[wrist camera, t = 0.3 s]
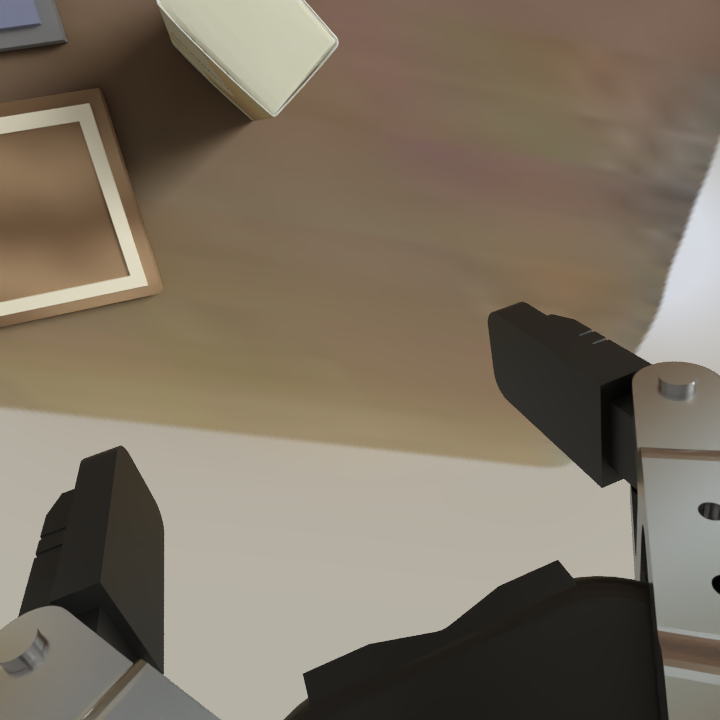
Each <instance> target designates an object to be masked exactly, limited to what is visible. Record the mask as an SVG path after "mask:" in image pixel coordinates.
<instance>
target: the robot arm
mask: <svg viewBox="0 0 720 720" xmlns="http://www.w3.org/2000/svg"><path fill="white" fill-rule="evenodd" d="M488 329H489V336H490V344H491V352H492V360H493V368H494V375H495V379H496V382H497V385H498V387H499V389H500V391H501V393H502V394H503V396H504V397H505V398H506V399H507V400H508V401H509V402H510V403H511V404H512V405H513V406H514V407H515V408H516V409H517V410H518V411H520V412H521V413H522V414H523V415H524V416H525V417H526V418H527V419H528V420H529V421H530V422H531V423H532V424H534V425H535V426H536V427H537V428H538V429H539V430H540V431H541V432H542V433H543V434H544V435H545V436H546V437H548V438H549V439H550V440H551V441H552V442H553V443H554V444H555V445H556V446H557V447H558V448H559V449H560V450H562V451H563V452H564V453H565V454H566V455H567V456H568V457H569V458H570V459H571V460H572V461H573V462H575V463H576V464H577V465H578V466H579V467H580V468H581V469H582V470H583V471H584V472H585V473H586V474H587V475H589V476H590V477H591V478H592V479H593V480H594V481H595V482H596V483H597V484H598V485H599V486H600V487H601V488H603V487H605V486H608V485H610V484H612V483H614V482H617V481H619V480H622V479H625V480H626V481H627V482H628V483H630V505H631V521H632V537H633V553H634V570H635V580H632V579H625V578H618V577H603V576H592V577H579V578H572V577H571V576H570V574H569V573H568V572H567V570H565V568H564V567H563V566H562V564H561V563H560V562H559V561H558V560H557V561H554V562H552V563H550V564H548V565H545V566H543V567H541V568H539V569H536V570H535V571H532V572H530V573H527V574H525V575H523V576H521V577H519V578H516V579H514V580H512V581H510V582H507V583H505V584H503V585H501V586H499V587H497V588H496V589H495V590H494V591H492V592H491V593H490V594H489V595H487V596H486V597H485V598H484V599H482V600H481V601H480V602H478V603H477V604H476V605H475V606H473V607H472V608H471V609H470V610H468V611H467V612H466V613H465V614H463V615H462V616H461V617H460V618H458V619H457V620H456V621H455V622H453V623H452V624H451V625H450V626H448V627H447V628H445V629H443V630H441V631H438V632H433V633H428V634H422V635H416V636H411V637H406V638H400V639H395V640H389V641H384V642H378V643H373V644H368V645H366V646H364V647H362V648H360V649H357V650H355V651H353V652H351V653H348V654H346V655H344V656H342V657H339V658H337V659H335V660H333V661H331V662H328V663H326V664H324V665H321V666H319V667H317V668H315V669H313V670H310V671H308V672H306V673H304V674H303V676H304V681H305V685H306V689H307V694H308V698H307V699H306V700H305V701H303V702H302V703H301V704H300V705H299V706H297V707H296V708H295V709H294V710H293V711H292V712H291V713H290V714H289V715H288V716H287V717H286V718H285V719H284V720H720V376H719V375H718V374H717V373H715V372H714V371H712V370H710V369H708V368H706V367H703V366H700V365H697V364H692V363H685V362H663V363H656V364H650V363H649V362H647V361H645V360H643V359H642V358H640V357H638V356H637V355H635V354H633V353H631V352H630V351H628V350H626V349H624V348H623V347H621V346H619V345H618V344H616V343H614V342H612V341H611V340H606V338H605V337H604V336H602V335H600V334H599V333H597V332H592V329H590V328H588V327H586V326H585V325H583V324H581V323H580V322H578V321H576V320H574V319H570V318H565V317H561V316H557V315H553V314H551V315H548V316H547V315H545V314H543V313H542V312H540V311H538V310H537V309H535V308H534V307H532V306H530V305H529V304H527V303H525V302H519V303H517V304H514V305H511V306H508V307H506V308H503V309H500V310H497V311H495V312H492V313H490V315H489V317H488ZM40 537H41V540H40V541H39V544H38V547H37V551H36V556H37V558H35V559H34V562H33V565H32V569H31V572H30V576H29V580H28V584H27V587H26V591H25V595H24V598H23V601H22V605H21V609H20V613H19V616H18V618H17V619H15V620H13V621H12V622H10V623H9V624H8V625H6V626H5V627H4V628H3V629H1V630H0V720H220V719H219V718H218V717H216V716H215V715H214V714H213V713H211V712H210V711H209V710H208V709H206V708H205V707H203V706H202V705H201V704H200V703H198V702H197V701H195V699H193V698H192V697H191V696H189V695H188V694H187V693H185V692H184V691H183V690H182V689H180V688H179V687H178V686H177V685H175V684H174V683H173V682H171V681H170V680H169V679H168V678H166V677H165V676H164V675H163V674H164V526H163V521H162V517H161V514H160V511H159V508H158V506H157V504H156V501H155V500H154V498H153V496H152V494H151V492H150V491H149V489H148V487H147V485H146V483H145V482H144V480H143V478H142V476H141V474H140V473H139V471H138V469H137V467H136V465H135V464H134V462H133V460H132V458H131V456H130V455H129V453H128V452H127V450H126V449H125V448H124V447H123V446H118V447H115V448H113V449H110V450H107V451H105V452H101V453H99V454H96V455H93V456H90V457H88V458H85V459H83V460H82V461H81V463H80V467H79V472H78V476H77V481H76V485H75V489H73V490H70V491H68V492H65V493H62V494H61V496H60V497H59V499H58V500H57V501H56V503H55V504H54V505H53V507H52V508H51V510H50V511H49V512H48V514H47V515H46V518H45V522H44V525H43V529H42V532H41V536H40Z"/></svg>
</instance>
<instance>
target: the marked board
mask: <svg viewBox="0 0 720 720" xmlns="http://www.w3.org/2000/svg"><path fill="white" fill-rule="evenodd" d="M163 290H164V288H163V285H162V282H161V279H160V275H159V272H158V269H157V266H156V262H155V259H154V256H153V253H152V250H151V246H150V243H149V240H148V237H147V233H146V230H145V227H144V224H143V221H142V217H141V214H140V211H139V208H138V204H137V201H136V198H135V195H134V191H133V188H132V185H131V182H130V179H129V175H128V172H127V169H126V166H125V162H124V159H123V156H122V153H121V149H120V146H119V143H118V140H117V137H116V133H115V130H114V127H113V124H112V120H111V117H110V114H109V111H108V107H107V104H106V101H105V98H104V95H103V91H102V89H100V88H93V89H87V90H80V91H74V92H68V93H61V94H55V95H49V96H42V97H36V98H29V99H23V100H17V101H10V102H4V103H0V327H4V326H8V325H13V324H18V323H22V322H27V321H32V320H37V319H41V318H46V317H51V316H55V315H60V314H65V313H70V312H74V311H79V310H84V309H89V308H93V307H98V306H103V305H107V304H112V303H117V302H122V301H126V300H131V299H136V298H140V297H145V296H150V295H155V294H159V293H162V292H163Z"/></svg>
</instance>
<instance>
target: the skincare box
mask: <svg viewBox="0 0 720 720" xmlns="http://www.w3.org/2000/svg"><path fill="white" fill-rule="evenodd" d="M156 3H157V5H158V7H159V10H160V12H161V15H162V18H163V20H164V23H165V26H166V28H167V30H168V33H169V36H170V39H171V41H172V44H173V45H174V46H175V47H176V48H177V49H178V50H179V51H180V52H181V54H182V55H183V56H184V57H185V58H186V59H187V60H188V61H189V62H190V63H191V64H192V65H193V66H194V67H195V68H196V69H197V70H198V71H199V72H200V73H201V74H202V75H203V76H204V77H205V78H206V79H207V80H208V81H209V82H210V83H212V84H213V85H214V86H215V87H216V88H217V89H218V90H219V91H220V92H221V93H222V94H223V95H224V96H225V97H227V98H228V99H229V100H230V101H231V102H232V103H233V104H234V105H235V106H237V107H238V108H239V109H240V110H241V111H242V112H243V113H244V114H245V115H247V116H248V117H249V118H250V119H251V120H252V121H255V120H261V119H267V118H272V117H276V116H277V115H278V114H279V113H280V112H281V111H282V110H283V109H284V107H285V106H286V105H287V104H288V103H289V102H290V101H291V100H292V99H293V98H294V97H295V96H296V95H297V93H298V92H299V91H300V90H301V89H302V88H303V87H304V86H305V84H306V83H307V82H308V81H309V80H310V79H311V78H312V76H313V75H314V74H315V73H316V72H317V71H318V70H319V68H320V67H321V66H322V65H323V64H324V62H325V61H326V60H327V59H328V58H329V56H330V55H331V54H332V53H333V52H334V50H335V49H336V48H337V47H338V38H337V37H336V36H335V35H334V34H333V32H332V31H331V30H330V29H329V28H328V27H327V25H326V24H325V23H324V22H323V21H322V20H321V19H320V17H319V16H318V15H317V14H316V13H315V12H314V11H313V9H312V8H311V7H310V6H309V5H308V4H307V3H306V1H305V0H156Z"/></svg>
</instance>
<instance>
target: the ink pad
mask: <svg viewBox="0 0 720 720" xmlns="http://www.w3.org/2000/svg"><path fill="white" fill-rule="evenodd" d="M61 43H68V41H67V38H66V35H65V32H64V29H63V26H62V23H61V20H60V17H59V13H58V10H57V7H56V4H55V1H54V0H0V52H5V51H12V50H19V49H26V48H33V47H40V46H47V45H54V44H61Z"/></svg>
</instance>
